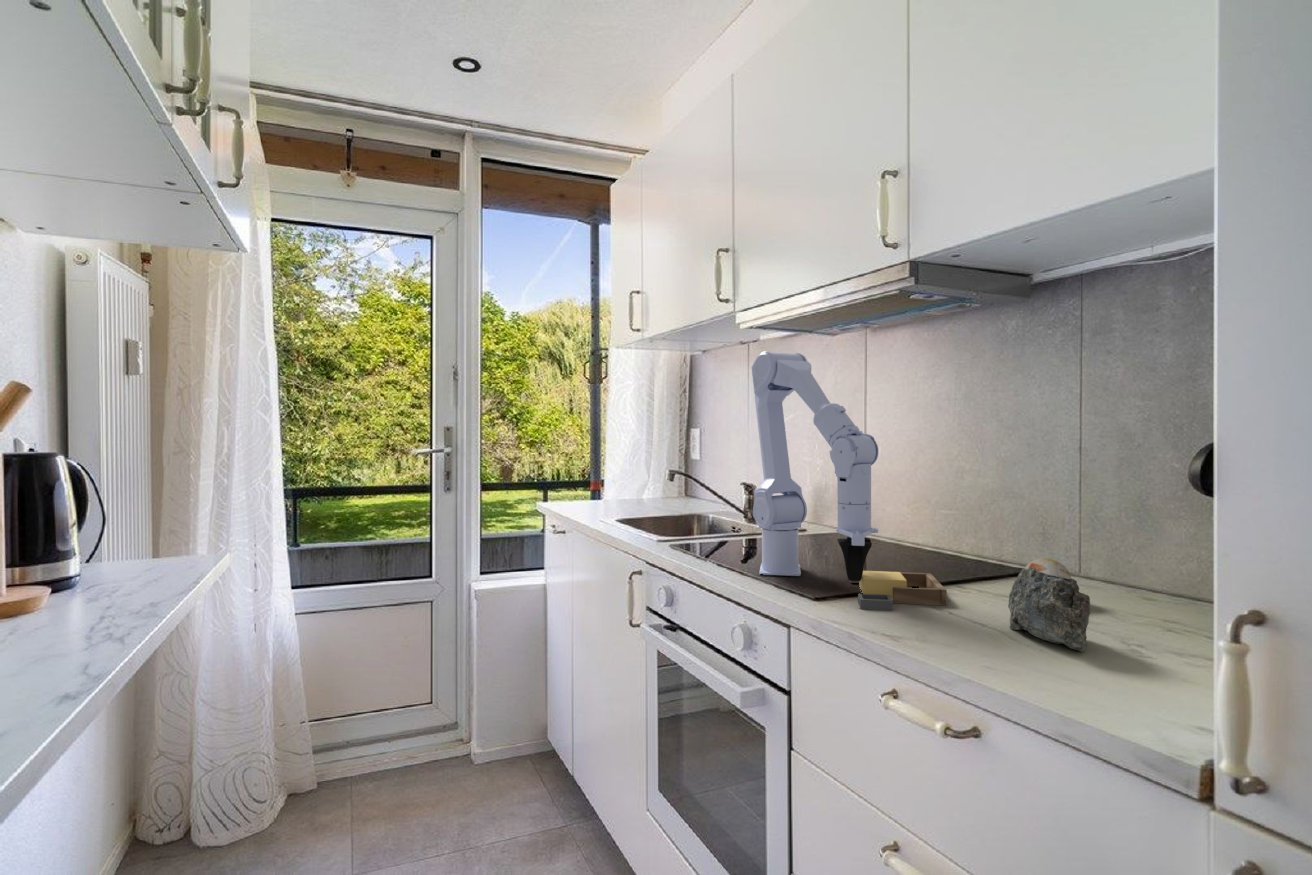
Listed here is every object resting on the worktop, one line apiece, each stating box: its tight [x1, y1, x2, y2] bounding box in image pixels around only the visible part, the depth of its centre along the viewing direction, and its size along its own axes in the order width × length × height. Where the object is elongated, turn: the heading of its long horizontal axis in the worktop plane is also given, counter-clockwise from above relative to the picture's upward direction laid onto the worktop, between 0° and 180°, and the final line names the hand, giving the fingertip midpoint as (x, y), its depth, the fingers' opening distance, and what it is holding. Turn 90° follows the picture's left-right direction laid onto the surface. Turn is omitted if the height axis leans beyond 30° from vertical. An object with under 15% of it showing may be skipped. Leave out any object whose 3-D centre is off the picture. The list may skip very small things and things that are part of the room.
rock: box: [1007, 567, 1092, 653], centre depth 95 cm, size 14×10×10 cm
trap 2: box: [857, 593, 894, 611], centre depth 112 cm, size 4×5×2 cm
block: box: [858, 570, 907, 599], centre depth 121 cm, size 7×7×4 cm
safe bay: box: [892, 571, 948, 606], centre depth 120 cm, size 13×8×2 cm, turn 169°
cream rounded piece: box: [1024, 558, 1072, 579], centre depth 113 cm, size 8×10×10 cm
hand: (854, 579), depth 122 cm, fingers closed
